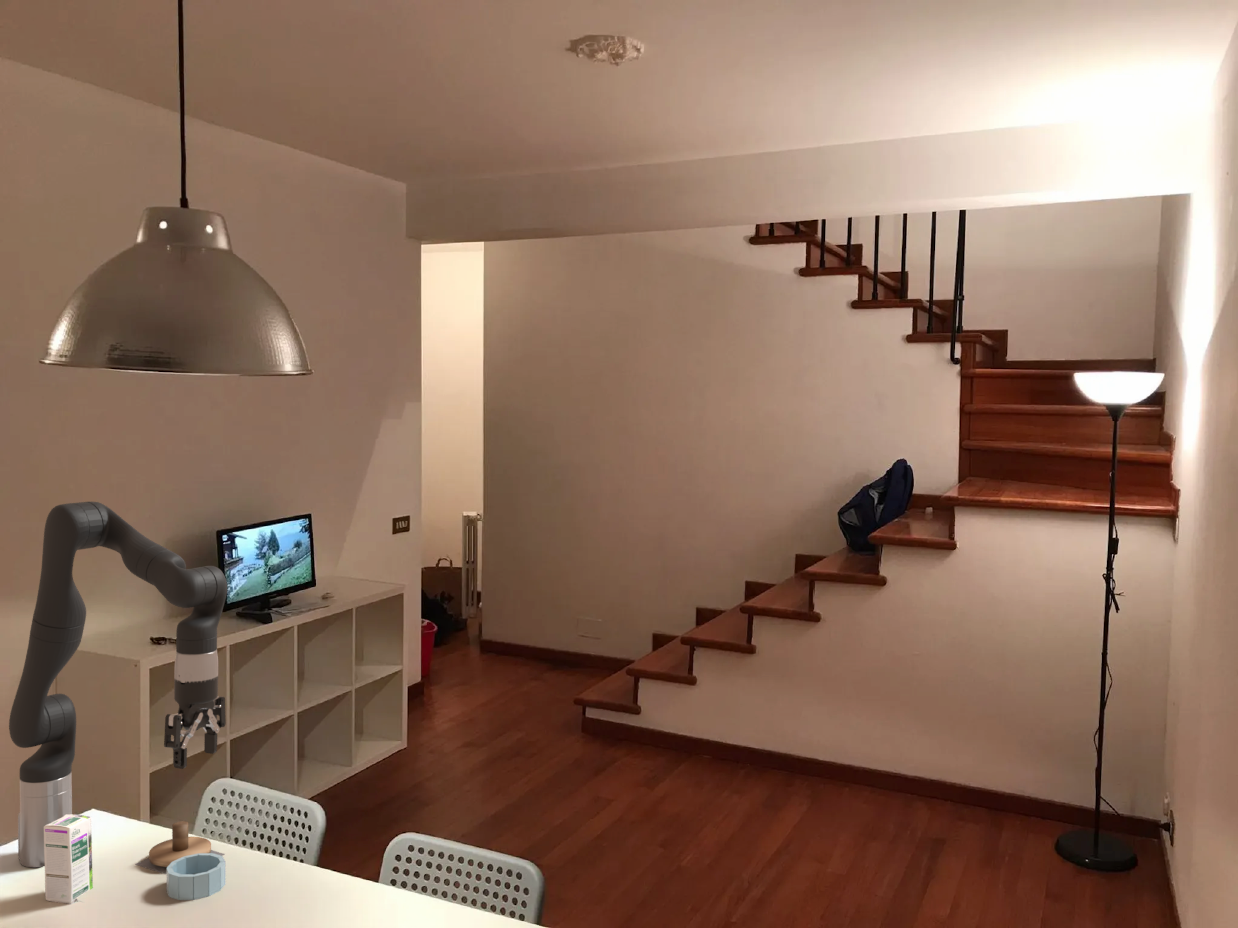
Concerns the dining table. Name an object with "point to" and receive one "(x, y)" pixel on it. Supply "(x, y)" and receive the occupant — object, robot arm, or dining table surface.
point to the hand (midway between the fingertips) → (195, 760)
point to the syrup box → (68, 858)
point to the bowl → (195, 876)
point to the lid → (178, 846)
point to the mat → (161, 869)
